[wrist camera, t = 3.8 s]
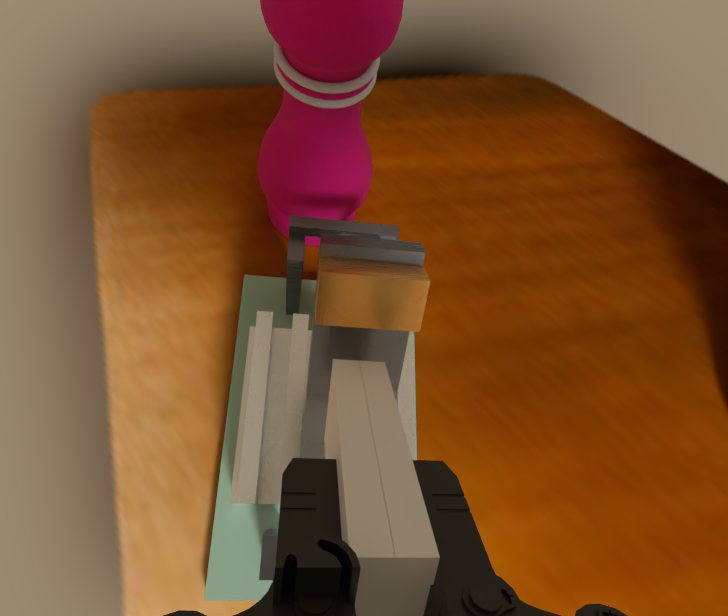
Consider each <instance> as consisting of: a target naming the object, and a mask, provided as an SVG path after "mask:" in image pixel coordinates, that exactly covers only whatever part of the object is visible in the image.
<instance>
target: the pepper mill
mask: <svg viewBox="0 0 728 616" xmlns="http://www.w3.org/2000/svg"><path fill="white" fill-rule="evenodd" d="M260 2H261V9H262V13H263V16H264V20H265V23H266V25H267V27H268V30H269V32H270V34H271V35H272V36H273V38H274V42H273V52H274V60H273V66H274V71H275V75H276V77H277V79H278V81H279V83H280V84H281V85H282V87H283V88H284V92H283V101H282V104H281V107H280V110H279V112H278V114H277V115H276V117H275V118H274V120H273V122H272V123H271V125H270V126H269V128H268V130H267V131H266V133H265V135H264V138H263V141H262V143H261V147H260V150H259V154H258V179H259V183H260V186H261V189H262V191H263V193H264V195H265V197H266V198H267V209H268V215H269V218H270V220H271V222H272V224H273V225H274V227H275V228H276V229H277V230H278V231H279V233H280V234H281V235H283V236H284V237H286V238H287V239H289V223H290V215H292V216H302V217H312V218H322V219H332V220H342V221H352V222H353V221H354V218H355V214H356V210H357V209H358V208H359V207H360V205H361V204H362V203H363V202H364V200H365V198H366V196H367V194H368V192H369V189H370V185H371V179H372V166H373V165H372V158H371V152H370V148H369V145H368V142H367V139H366V137H365V134H364V132H363V130H362V127H361V121H360V114H361V102H362V99H364V98H365V97H366V96H367V95H368V94H369V93H370V92H371V90H372V88H373V86H374V84H375V81H376V75H377V70H378V68H379V63H380V56H381V55H382V54H383V53H384V52H385V51H386V50H387V49H388V48H389V46H390V45H391V43H392V41H393V40H394V38H395V35H396V33H397V30H398V27H399V24H400V21H401V17H402V8H403V0H260ZM305 245H307V246H320V237H311V236H305Z"/></svg>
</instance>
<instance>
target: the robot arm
mask: <svg viewBox="0 0 728 616" xmlns="http://www.w3.org/2000/svg"><path fill="white" fill-rule="evenodd" d="M324 442H325V459H314V458H292V460H291V462H290V463H289V465H288V466H287V468H286V469H285V471H284V472H283V474H282V487H281V500H280V513H279V527H278V540H277V553H276V566H275V574H274V578H273V582H272V584H271V586H270V588H269V590H268V592H267V593H266V594H265V595H264V596H263V597H262V599H261V600H260V601H259V602H257V603H256V604H255V605H253V606H252V607H251V608H249V609H247V610H245V611H243V612H241V613H239V614H237V615H234V616H560V615H557V614H554V613H550V612H547V611H544V610H541V609H538V608H535V607H533V606H530V605H528V604H526V603H524V602H523V601H521V600H520V599H519V598H518V596H517V595H516V593H515V591H514V590H513V588H512V587H511V586H509V585H508V584H507V583H506V582H505V581H504V580H503V579H502V578H501V577H499V576H497V575H496V574H495V572H494V570H493V568H492V566H491V563H490V561H489V558H488V555H487V553H486V550H485V548H484V545H483V543H482V540H481V537H480V535H479V532H478V530H477V527H476V524H475V522H474V519H473V517H472V514H471V513H470V511H469V510H470V509H469V506H468V504H467V501H466V499H465V498H464V493H463V491H462V488H461V486H460V483H459V480H458V478H457V476H456V475H455V474H454V473H453V472H452V471H451V470H450V468H449V467H448V466H447V465H446V464H445V463H444V462H443V461H426V460H412V456H411V453H410V449H409V446H408V442H407V439H406V435H405V432H404V428H403V424H402V421H401V417H400V414H399V410H398V407H397V403H396V400H395V396H394V392H393V389H392V385H391V382H390V378H389V375H388V371H387V368H386V364H385V362H375V361H357V360H340V359H333V363H332V372H331V382H330V391H329V400H328V409H327V418H326V427H325V437H324ZM164 616H206V615H204V614H202V613H200V612H197V611H176V612H173V613H170V614H167V615H164ZM575 616H627V615H625V614H624V613H622V612H620V611H619V610H617V609H615V608H612V607H608V606H605V605H602V604H588V605H585V606H583V607H582V608H580V609H579V610H577V611H576V614H575Z"/></svg>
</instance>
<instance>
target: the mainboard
mask: <svg viewBox="0 0 728 616" xmlns="http://www.w3.org/2000/svg"><path fill="white" fill-rule="evenodd" d="M315 291H316V280H305V279H302V282H301V294H300V305H299V314H308V315H309V322H308V330H312V323H313V312H314V301H315ZM257 311H267V312H273V315H274V328H284V329H292V323H293V315H287V314H286V278H280V277H268V276H256V275H244V281H243V289H242V297H241V305H240V314H239V322H238V330H237V338H236V346H235V354H234V362H233V370H232V378H231V386H230V394H229V402H228V411H227V419H226V427H225V435H224V443H223V451H222V459H221V467H220V475H219V483H218V491H217V500H216V508H215V516H214V524H213V532H212V540H211V548H210V556H209V564H208V572H207V580H206V589H205V597H204V601H257V600H261V599H262V597H263V596H264V595H265V594H266V593H267V592H268V590H269V588H270V586H271V584H272V582H273V580H259V574H260V562H261V551H262V539H263V534H264V533H265V531H266V530H267V529H278V527H279V513H280V505H277V504H234V503H230V498H231V489H232V480H233V471H234V462H235V454H236V445H237V436H238V427H239V418H240V410H241V401H242V392H243V383H244V374H245V366H246V357H247V348H248V339H249V330H250V326H255V327H256V318H257ZM412 345H413V396H414V448H415V460H417V448H416V400H415V352H414V332H413V331H412Z"/></svg>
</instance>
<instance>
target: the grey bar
mask: <svg viewBox="0 0 728 616" xmlns="http://www.w3.org/2000/svg"><path fill="white" fill-rule="evenodd" d="M424 257H425V251H424V249H423V247H422V245H421V243H416V242H406V241H395V240H385V239H374V238H364V237H353V236H343V235H332V234H322V233H321V237H320V248H319V259H318V269H317V280H316V291H315V301H314V312H313V323H312V333H311V344H310V355H309V365H308V376H307V387H306V397H305V408H304V419H303V429H302V440H301V451H300V458H314V459H325V442H324V437H325V427H326V418H327V409H328V400H329V391H330V382H331V372H332V363H333V359H340V360H357V361H375V362H385V364H386V368H387V371H388V375H389V378H390V382H391V385H392V389H393V392H394V396H395V400H396V397H397V392H398V387H399V382H400V377H401V372H402V367H403V362H404V357H405V352H406V347H407V342H408V337H409V332H410V331H413V332H420V329H421V324H422V319H423V315H424V310H425V305H426V300H427V296H428V291H429V286H430V279H429V277H428V275H427V273H426V271H425V269H424V267H423V262H424Z"/></svg>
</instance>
